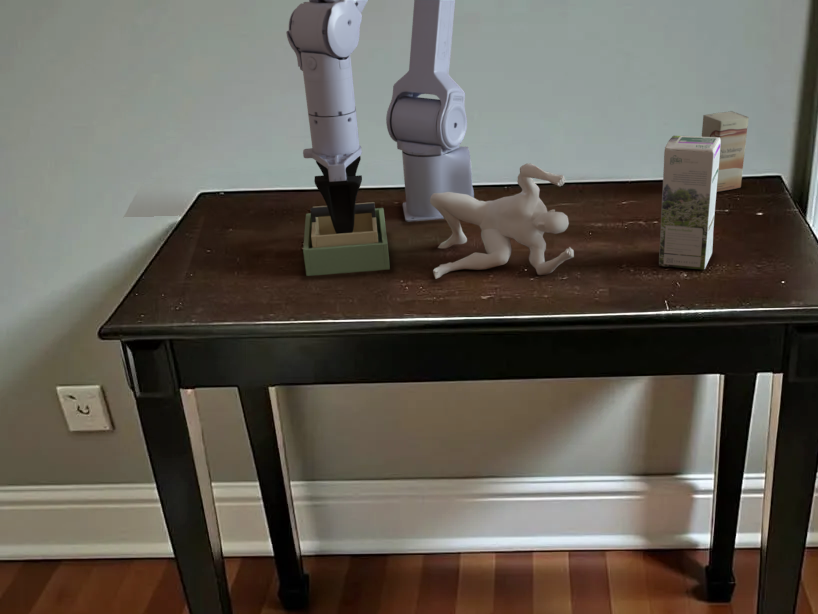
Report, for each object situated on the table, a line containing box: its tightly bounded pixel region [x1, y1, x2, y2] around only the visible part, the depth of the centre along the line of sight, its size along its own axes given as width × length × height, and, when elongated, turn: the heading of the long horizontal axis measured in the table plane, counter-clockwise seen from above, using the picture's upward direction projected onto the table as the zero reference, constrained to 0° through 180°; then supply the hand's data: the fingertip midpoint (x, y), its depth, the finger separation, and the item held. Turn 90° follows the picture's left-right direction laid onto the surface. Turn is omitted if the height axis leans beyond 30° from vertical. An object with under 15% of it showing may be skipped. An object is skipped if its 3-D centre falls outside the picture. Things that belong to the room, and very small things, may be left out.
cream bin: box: [310, 201, 378, 248], centre depth 135 cm, size 8×12×6 cm, turn 7°
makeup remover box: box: [701, 110, 749, 193], centre depth 152 cm, size 5×4×10 cm
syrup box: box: [658, 135, 721, 271], centre depth 126 cm, size 6×6×14 cm
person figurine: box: [430, 162, 575, 280], centre depth 130 cm, size 13×13×18 cm
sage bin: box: [302, 207, 391, 277], centre depth 136 cm, size 10×14×4 cm
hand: (344, 222), depth 134 cm, fingers open, 7 cm apart
